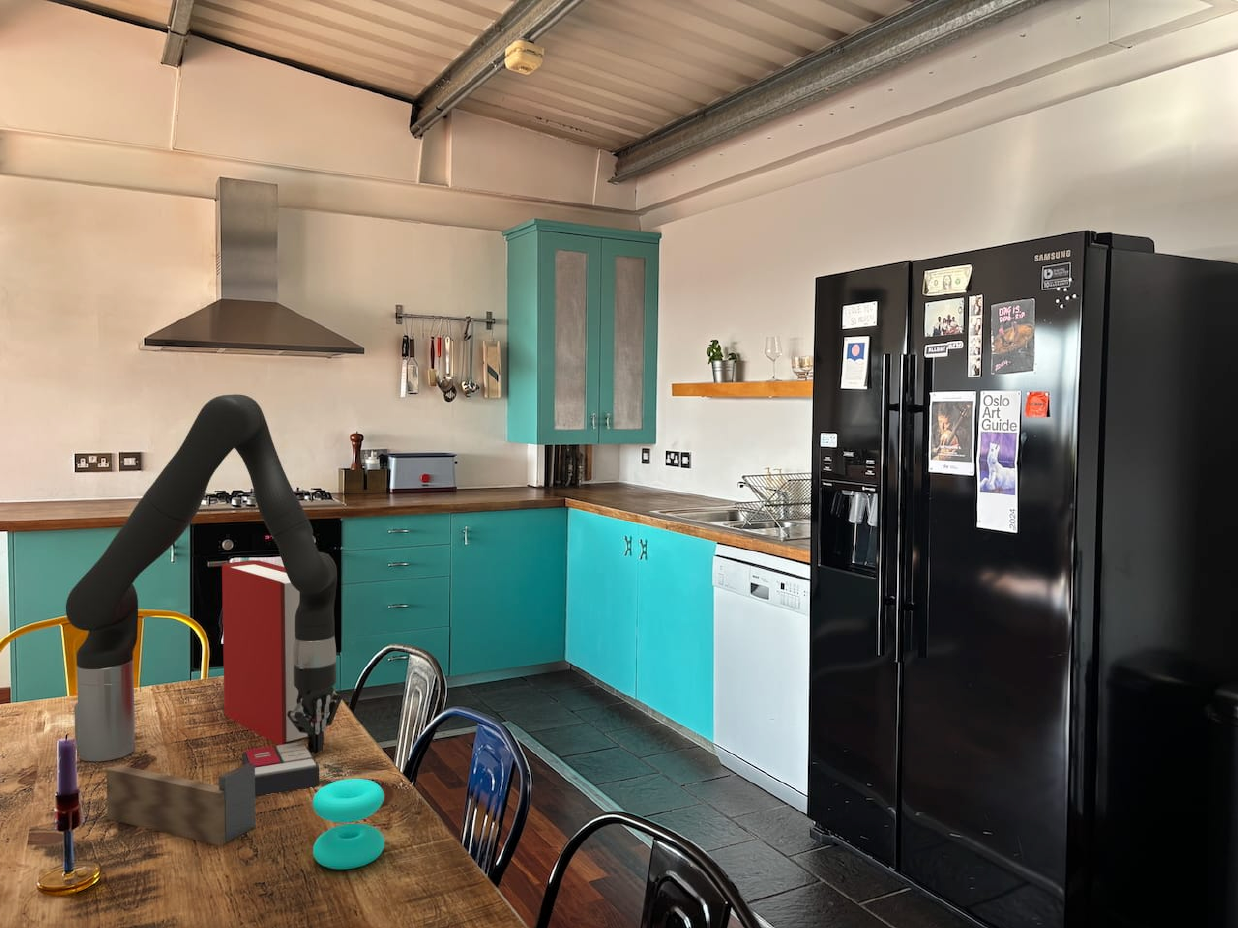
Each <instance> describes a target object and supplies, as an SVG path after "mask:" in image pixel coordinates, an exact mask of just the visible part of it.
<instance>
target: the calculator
mask: <svg viewBox="0 0 1238 928" xmlns="http://www.w3.org/2000/svg"><path fill="white" fill-rule="evenodd" d="M312 754H313V753H311V752H310V751H309V750H308V745H306V743H304V742H303V741H299V742H293V743H285V744H284V745H276V746H275V748H274V746H266V747H260V748H253V749H247V750H245V752H243V753H242V754H241V756H242V757H241V759H242V761H241V762H242V763H241V764H242V765H241V766H243V765H245V764H247V763H253V764H255V796H260V797H263V796H262V795H266V794H271V793H277V794H280V793H279V792H283V793H285V792H284V791H289V792H293V791H292V790H295V791H298V790H297V789H301V790H306V789H311V788H310V787H312V788H317V787H320V765H319V764H318V762H317V761H316V760H315V757H314V756H313V755H312ZM302 788H303V789H302ZM305 788H306V789H305ZM266 796H267V795H266Z"/></svg>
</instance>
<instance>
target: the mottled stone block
mask: <svg viewBox="0 0 1238 928" xmlns="http://www.w3.org/2000/svg"><path fill="white" fill-rule="evenodd" d="M105 771H106V805H107V807H106V809H107V820H110V821H114V822H119V823H123V824H126V825H132V826H135V827H139V828H143V829H148V830H152V831H156V832H160V833H164V834H168V835H169V834H170V835H173V836H177V837H181V838H186V839H190V840H193V841H194V840H195V841H197V842H201V843H206V844H210V845H215V846H218V847H221V846H223V845H225V844H227V843H226V832H225V791H223V790H219V785H216V784H211V783H206V782H201V781H196V780H192V779H186V778H182V777H177V776H173V775H168V774H162V773H158V772H154V771H149V770H145V769H140V768H139V769H138V768H135V767H134V768H133V767H129V766H125V765H120V764H115V765H113V766H111V767H109V768H106V769H105Z"/></svg>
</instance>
